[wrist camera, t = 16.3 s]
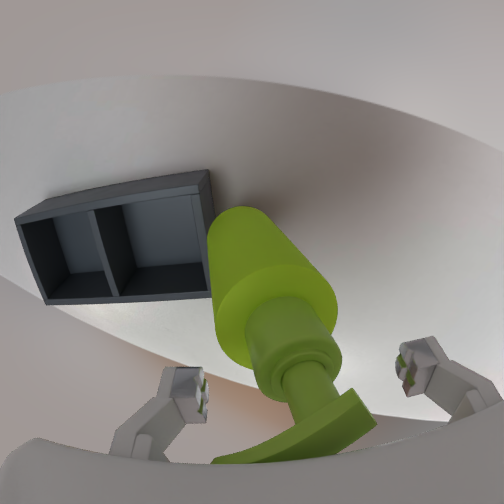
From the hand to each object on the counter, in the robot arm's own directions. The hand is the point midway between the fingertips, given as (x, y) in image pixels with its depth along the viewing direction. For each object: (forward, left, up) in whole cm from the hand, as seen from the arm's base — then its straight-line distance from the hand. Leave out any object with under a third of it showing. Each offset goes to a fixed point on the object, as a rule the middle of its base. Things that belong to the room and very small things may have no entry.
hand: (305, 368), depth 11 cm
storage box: (+1, -16, -22) cm, 27 cm away
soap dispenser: (+1, -3, -16) cm, 16 cm away
